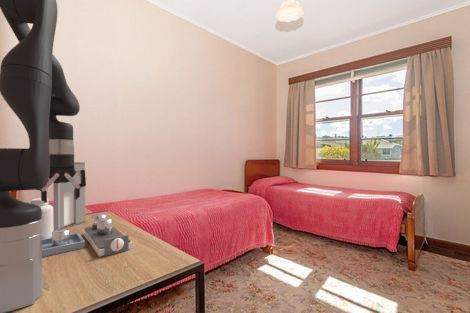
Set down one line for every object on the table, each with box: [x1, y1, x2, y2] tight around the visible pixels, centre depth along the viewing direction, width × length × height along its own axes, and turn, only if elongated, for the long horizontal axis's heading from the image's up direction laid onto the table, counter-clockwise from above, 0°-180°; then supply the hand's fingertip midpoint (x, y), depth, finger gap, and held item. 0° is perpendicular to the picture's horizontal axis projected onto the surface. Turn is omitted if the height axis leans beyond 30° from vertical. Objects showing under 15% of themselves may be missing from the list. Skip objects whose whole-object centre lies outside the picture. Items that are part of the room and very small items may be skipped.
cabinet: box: [52, 161, 86, 231], centre depth 109 cm, size 21×10×28 cm, turn 25°
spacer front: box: [51, 228, 71, 247], centre depth 82 cm, size 5×5×5 cm
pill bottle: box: [29, 197, 54, 239], centre depth 91 cm, size 8×8×15 cm
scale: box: [82, 225, 133, 257], centre depth 88 cm, size 29×10×5 cm, turn 41°
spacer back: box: [91, 212, 107, 229], centre depth 96 cm, size 5×5×5 cm
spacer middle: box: [97, 217, 113, 235], centre depth 89 cm, size 5×5×5 cm
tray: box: [42, 232, 86, 258], centre depth 82 cm, size 12×12×2 cm
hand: (61, 200), depth 82 cm, fingers open, 8 cm apart
